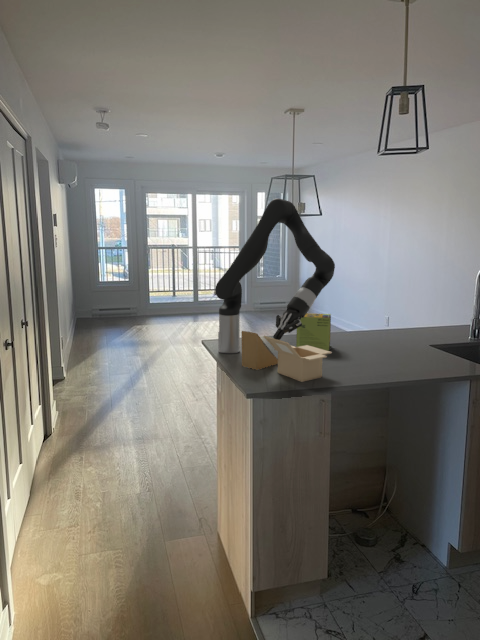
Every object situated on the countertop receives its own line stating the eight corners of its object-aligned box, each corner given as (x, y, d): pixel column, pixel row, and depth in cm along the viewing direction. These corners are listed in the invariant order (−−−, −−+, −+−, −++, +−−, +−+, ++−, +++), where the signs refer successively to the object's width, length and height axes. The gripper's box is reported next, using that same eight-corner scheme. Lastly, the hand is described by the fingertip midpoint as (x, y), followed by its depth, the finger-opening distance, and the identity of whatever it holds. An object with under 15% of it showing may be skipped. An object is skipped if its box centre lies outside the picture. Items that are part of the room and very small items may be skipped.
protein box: (329, 351, 223) (330, 317, 220) (295, 349, 226) (296, 316, 223) (330, 345, 233) (331, 313, 230) (297, 344, 236) (298, 312, 233)
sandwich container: (281, 363, 204) (282, 327, 201) (257, 370, 193) (257, 333, 190) (266, 359, 210) (266, 325, 207) (241, 366, 199) (241, 330, 196)
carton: (272, 371, 192) (273, 348, 190) (301, 365, 200) (302, 343, 199) (307, 384, 176) (308, 359, 174) (337, 376, 184) (337, 353, 182)
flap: (277, 349, 187) (276, 350, 187) (264, 335, 183) (263, 336, 183) (301, 357, 176) (300, 358, 176) (287, 342, 172) (286, 343, 172)
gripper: (284, 294, 185) (258, 329, 180) (308, 298, 174) (281, 336, 170) (295, 306, 189) (270, 341, 184) (319, 311, 178) (293, 348, 174)
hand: (275, 339), depth 177 cm, fingers closed
